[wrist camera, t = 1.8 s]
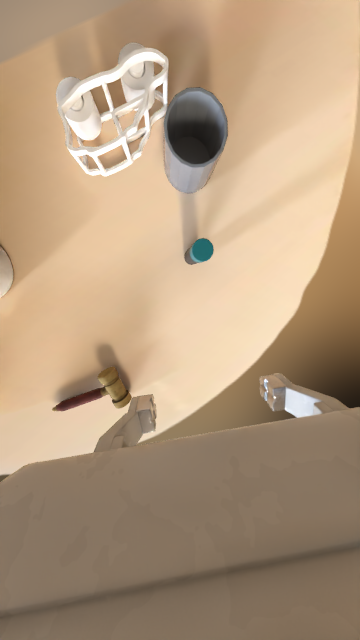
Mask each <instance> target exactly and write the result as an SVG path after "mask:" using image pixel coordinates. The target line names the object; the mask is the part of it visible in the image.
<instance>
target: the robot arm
mask: <svg viewBox="0 0 360 640" xmlns="http://www.w3.org/2000/svg"><path fill="white" fill-rule="evenodd" d="M12 282H13V268H12V264H11V261H10V259H9V257H8V255H7V254H6V252H5V251H4V250H3V249H2V247H1V246H0V297H2V296H3V295H4V294H6V293H7V292H8V290H9V289H10V287H11V285H12ZM260 383H261V386H260V393H261V395H262V397H263V399H264V400H266V401H268V405H269V406H270V408H271V409H272V410H273V411H277V410H286V411H288V412H290V413H291V414H293V415H294V416H296V417H298V418H293V419H287V420H281V421H276V422H270V423H264V424H258V425H253V426H247V427H241V428H235V429H229V430H223V431H218V432H212V433H206V434H201V435H195V436H188V437H183V438H177V439H171V440H165V441H159V442H153V443H148V444H142V445H136V444H137V443H138V441H139V440H140V438H141V437H142V435H143V434H144V433H149V432H154V431H155V426H156V422H155V419H156V405H155V403H154V396H153V394H151V395H143V396H137V397H133V398H132V400H131V403H130V407H129V410H128V413H126V414H125V415H124V416H123V417H121V418H120V419H119V420H118V421H117V422H116V423H115V424H114V425H113V426H112V427H111V428H110V429H109V430H108V431H107V432H106V433H105V434H104V435H103V436H101V437H100V438H99V441H98V443H97V445H96V448H95V450H94V452H93V453H89V454H84V455H78V456H72V457H66V458H60V459H55V460H49V461H42V462H35V463H31V464H28V465H25V466H23V467H22V468H20V469H19V470H17V471H16V472H14V473H13V474H11V475H10V476H8V477H7V478H6V479H4V480H3V481H2V482H0V640H360V407H357V408H352V409H349V408H348V407H346V406H345V405H344V404H342V403H341V402H340V401H338V400H336V399H335V398H333V397H330V396H327V395H324V394H321V393H318V392H315V391H312V390H309V389H307V388H304V387H301V386H298V385H294V384H293V383H291V382H290V381H289V380H288V379H287V378H285V377H284V376H283V375H282V374H281V373H277V374H273V375H268V376H262V377H260Z"/></svg>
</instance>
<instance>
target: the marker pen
mask: <svg viewBox="0 0 360 640" xmlns="http://www.w3.org/2000/svg"><path fill="white" fill-rule="evenodd" d="M212 254H213V245H212V243H211V242H210V241H209V240H207V239H204V238H202V239H198V240H197V241H196V242H195V243H194V244H193V245H192V246H191V248H190V249H189V250H188V251H187V252H186V253H185V261H186V262H187V263H188V264H191V265H193V264H196V263H200V262H204V261H207V260H208V259H210V258H211V256H212Z"/></svg>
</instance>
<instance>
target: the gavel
mask: <svg viewBox="0 0 360 640" xmlns="http://www.w3.org/2000/svg"><path fill="white" fill-rule="evenodd" d="M117 375H118V372H117V370H116V368H115V367H109V368H107V369H105V370H103V371H102V372H101V373H100V374H99V375H98V379H99V381H100V383H101V384H104V386H105V387H103V388H98V389H95V390H92V391H89V392H87V393H84V394H81V395H78V396H76V397H73V398H70V399H67V400H65V401H62V402H61V403H59V404H58V405H56V407H54V408H53V409H52V411H65V410H68V409H71V408H74V407H77V406H79V405H82V404H85V403H88V402H91V401H93V400H96V399H99V398H101V397H103V396H105V395H108V394H109V395H110V396H111V398H112V399H113V400H112V402H113V404H114V405H115V407H116V408H122V407H124V406H126V405H127V404H128V403H129V402H130V400H131V398H132V397H131V395H130V393H129V391H128V390H126V388H125V387H124V385H123V383H122V382H121V380H120V378H119V377H118V376H117Z"/></svg>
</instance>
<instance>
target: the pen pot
mask: <svg viewBox="0 0 360 640" xmlns="http://www.w3.org/2000/svg"><path fill="white" fill-rule="evenodd" d="M227 136H228V130H227V118H226V115H225V112H224V109H223V106H222V104H221V103H220V102H219V101H218V99H217V98H216V97H215V96H214V94H213V93H211V92H209V91H207V90H205V89H203V88H200V87H197V88H186V89H185V90H183V91H181V92H180V93H178V94H176V95H175V97H174V98H173V100H172V101H171V103H170V104H169V106H168V107H167V111H166V115H165V119H164V167H165V173H166V176H167V178H168V180H169V182H170V183H171V184H172V186H173V187H174V188H176V189H177V190H179V191H181V192H184V193H194V192H197V191H199V190H200V189H202V188H203V187H204V186H205V185H206V183H207V182H208V180H209V179H210V177H211V175H212V173H213V171H214V169H215V166H216V164H217V162H218V160H219V158H220V156H221V154H222V152H223V149H224V146H225V143H226V139H227Z"/></svg>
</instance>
